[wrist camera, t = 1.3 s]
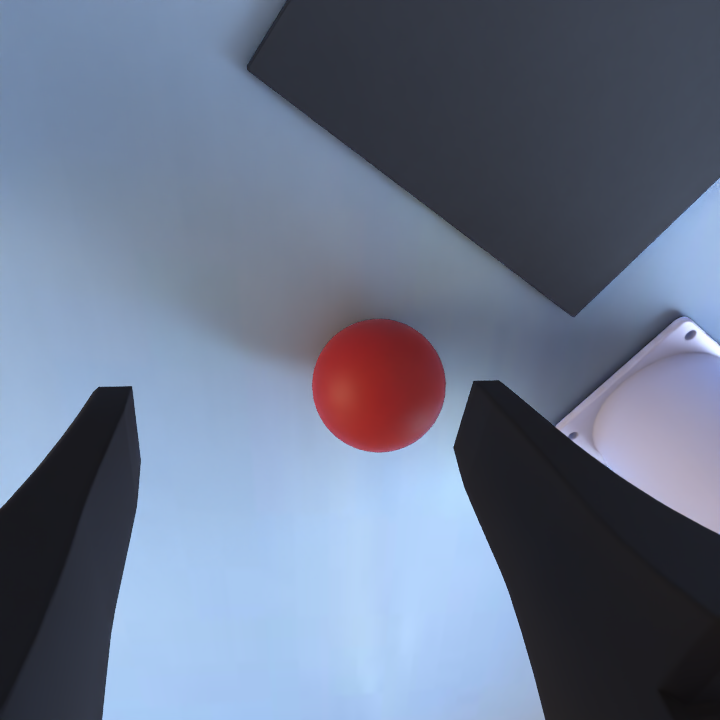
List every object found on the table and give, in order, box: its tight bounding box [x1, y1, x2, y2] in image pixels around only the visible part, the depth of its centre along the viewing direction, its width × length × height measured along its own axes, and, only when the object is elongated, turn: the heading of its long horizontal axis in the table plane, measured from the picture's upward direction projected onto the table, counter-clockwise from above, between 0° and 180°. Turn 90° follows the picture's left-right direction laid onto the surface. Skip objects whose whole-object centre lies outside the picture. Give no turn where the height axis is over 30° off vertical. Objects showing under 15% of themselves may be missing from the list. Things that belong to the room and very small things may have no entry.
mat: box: [247, 0, 720, 317], centre depth 19 cm, size 16×11×1 cm
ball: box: [312, 319, 446, 452], centre depth 23 cm, size 5×5×5 cm
